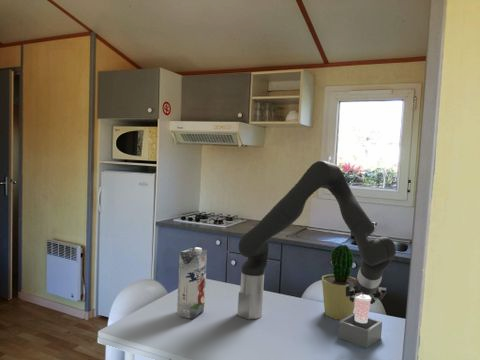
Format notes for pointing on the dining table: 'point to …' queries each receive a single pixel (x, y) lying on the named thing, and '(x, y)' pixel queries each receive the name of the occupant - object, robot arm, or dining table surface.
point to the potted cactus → (338, 285)
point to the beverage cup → (362, 308)
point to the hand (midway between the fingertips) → (361, 300)
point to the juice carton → (191, 282)
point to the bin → (360, 331)
